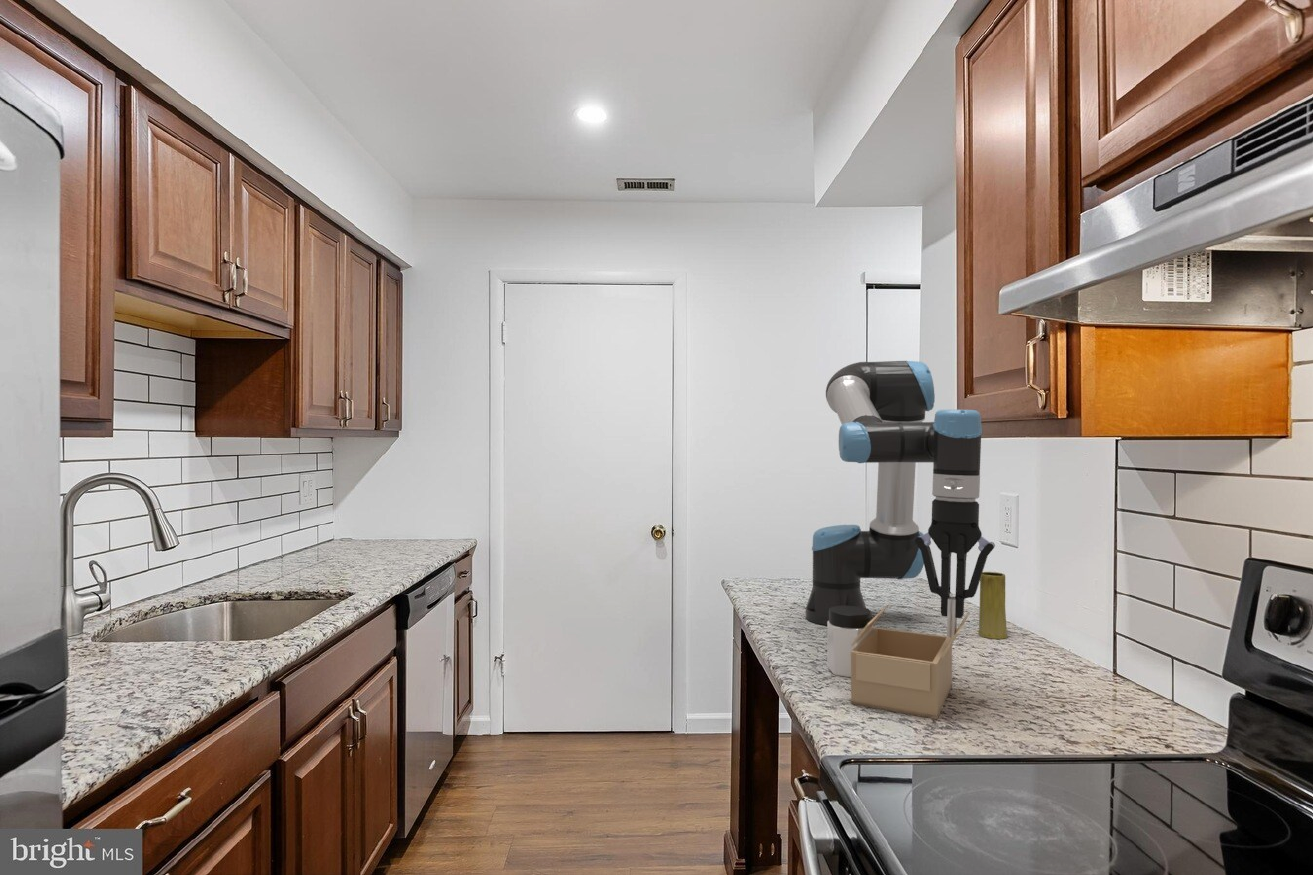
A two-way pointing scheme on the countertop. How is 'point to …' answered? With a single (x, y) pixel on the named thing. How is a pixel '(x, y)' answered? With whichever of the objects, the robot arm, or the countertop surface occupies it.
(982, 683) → the countertop surface
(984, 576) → the vase
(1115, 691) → the countertop surface
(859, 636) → the flap
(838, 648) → the jar
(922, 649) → the carton
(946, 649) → the flap
